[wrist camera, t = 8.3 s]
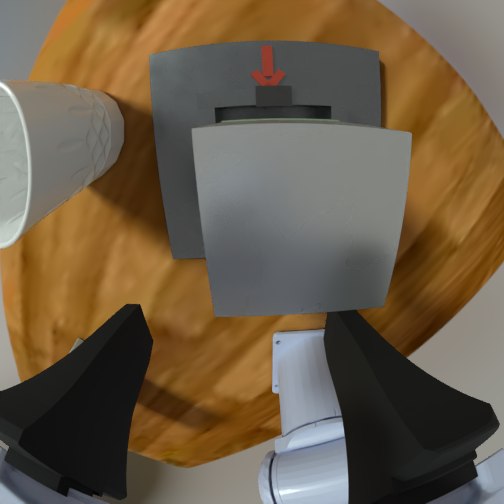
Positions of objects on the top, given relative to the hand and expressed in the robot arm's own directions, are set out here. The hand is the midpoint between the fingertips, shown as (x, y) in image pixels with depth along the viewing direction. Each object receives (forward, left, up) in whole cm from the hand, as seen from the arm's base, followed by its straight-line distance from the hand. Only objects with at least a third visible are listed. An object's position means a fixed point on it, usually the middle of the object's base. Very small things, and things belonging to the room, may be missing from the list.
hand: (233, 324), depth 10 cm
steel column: (+5, -2, -4) cm, 7 cm away
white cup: (+8, +11, -10) cm, 17 cm away
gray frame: (+5, -2, -10) cm, 11 cm away
